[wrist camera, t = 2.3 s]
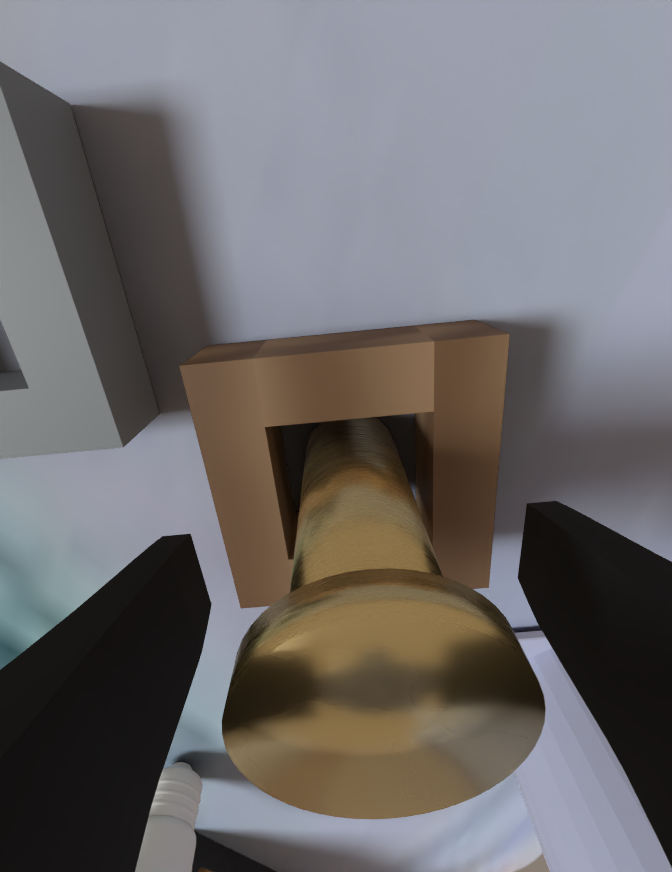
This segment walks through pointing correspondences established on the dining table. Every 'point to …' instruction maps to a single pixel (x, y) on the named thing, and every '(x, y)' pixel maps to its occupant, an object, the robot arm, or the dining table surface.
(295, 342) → the brown wooden square frame
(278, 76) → the dining table surface
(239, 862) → the ammunition clip
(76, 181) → the socket block
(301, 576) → the pin
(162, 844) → the lightbulb
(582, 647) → the robot arm
